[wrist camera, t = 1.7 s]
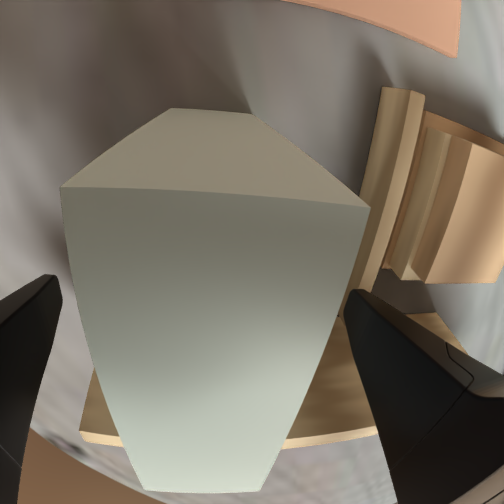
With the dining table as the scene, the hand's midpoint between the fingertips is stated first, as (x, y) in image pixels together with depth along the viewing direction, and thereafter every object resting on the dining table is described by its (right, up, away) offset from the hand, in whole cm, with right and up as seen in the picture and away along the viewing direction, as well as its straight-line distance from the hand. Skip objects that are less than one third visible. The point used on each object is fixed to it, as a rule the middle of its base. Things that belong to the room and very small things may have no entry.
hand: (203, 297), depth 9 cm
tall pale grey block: (-1, +3, +6) cm, 7 cm away
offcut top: (+13, +3, +5) cm, 15 cm away
